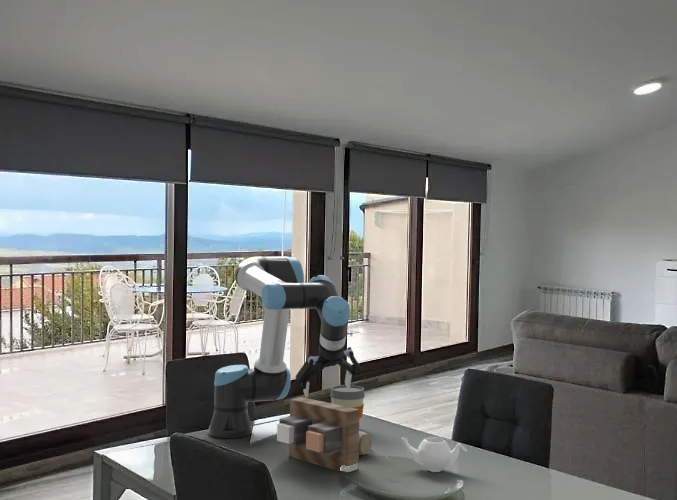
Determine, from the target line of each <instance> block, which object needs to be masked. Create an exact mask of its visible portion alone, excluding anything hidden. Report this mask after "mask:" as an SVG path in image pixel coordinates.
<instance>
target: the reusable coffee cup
mask: <svg viewBox="0 0 677 500" xmlns="http://www.w3.org/2000/svg"><path fill="white" fill-rule="evenodd" d="M329 397H330V398H331V404H336V405H341V406H345V407H350V408H355V409H359V428H360V425H361V419H362V417H363V413H364V405H365V404H364V398H365V388H364V387H363V386H358V385H352V384H350V389H347V387H346V384H343V385H341V384H339V385H334V386H332V387H331V388H330V394H329Z"/></svg>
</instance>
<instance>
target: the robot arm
mask: <svg viewBox="0 0 677 500" xmlns="http://www.w3.org/2000/svg"><path fill="white" fill-rule="evenodd" d="M234 280H235V283H236V284H237V286H238V287H239V288H240V289H242V290H243V291H246V292H250V293H252V292H253V294H255V295H257V296H259V297H261V302H262V305H263V307H264V315H263V316H264V317H263V324H262V331H261V332H262V333H261V342H260V348H259V350H260V351H259V358H258V359H256V360H255V361H254V363H253V368H249V367H248V366H247V365H246V364H233V365H232V364H231V365H227V366H223V367H220V368H219V369H217V370H216V372H215V373H214V381H213V382H214V383H213V385H214V390H213V391H214V392H213V393H214V394H213V396H214V397H213V399H214V400H213V402H214V404H213V406H214V408H213V409H214V410H213V414H212V418H211V420H210V424H209V426H208V435H209V436H211V437H213V438H219V439H239V438H244V437H248V436H250V435H251V434H252V433H253V424H252V422H251V419H250V415H249V413H248V412H249V411H248V405H249V404H248V403H255V402H266V401H272V402H274V401H276V400H282V399H284V398H286V397H287V396H288V394H289V392H290V389H291V382H292V380H291V378H292V376H291V371H290V369H289V368H288V366H287V364H286V363H285V361H284V356H285V349H286V342H287V341H286V340H287V334H288V326H289V318H290V317H289V316H290V310H296V309H297V310H305V309H307V310H308V309H310V310H311V309H315V310H316V311H317V314H318V316H319V319H320V321H321V323H320V334H319V344H318V352H317V355H316V356H312V355H311V354H308V355H307V358H306V361H305V362H304V363H303V365H302V366H301V368H300V369H299V370H298V372H297V373H296V375H295V380H296V381H297V384H300V387H301V389H302V390H303V391H302V392H303V394H304V396H305V397H304V398H309V393H310V392H309V391H310V380H312V379H313V378H314V377H315V376H316V375H317V374H318V373H319V372H321V371H323V370H324V369H325V368H329V367H334V366H337V365H338V366H339V367H341V368H344V369H345V370H346V372H345V378H344V385H346V387H347V389H350V385H352V384H351V383H352V380H354V379H355V376H357V372H361V371H362V368H361V365H360V364H359V362H358V360H357V359H356V357H355V355H354V352H353V349H352V347H350V346H348V347H347V349H346V350H345V347H346V340H347V332H348V325H349V320H350V304H349V302H348V301H347V300H345V299H344V298H343V297H341V296H339V294H338V291H337V288H336V286H335V284H334V283H333V282H332V280H331V279H330V277H328V276H326V275H323V274H318V275H317V276H313V277H312V278H310V280H308V282H305V274H304V270H303V266H302V263H301V262H300V260H299V258H297V257H294V256H286V255H283V256H282V255H281V256H271V255H270V256H259V255H257V256H256V255H255V256H251V257H248V258H246V259H244V260H243V261H241V262H240V263H239V264H238V265H237V267H236V269H235V271H234ZM345 357H348V358H349V359H350V361H351V363H352V364H351V363H350V362H348V361H347V360H345V359H344V358H345Z"/></svg>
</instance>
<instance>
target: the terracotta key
mask: <svg viewBox="0 0 677 500" xmlns="http://www.w3.org/2000/svg"><path fill="white" fill-rule="evenodd" d="M306 449H309V450H312V451H316V452H321V451H324V432H320V431H316V430H310V431H307V432H306Z"/></svg>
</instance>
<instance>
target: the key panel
mask: <svg viewBox="0 0 677 500" xmlns="http://www.w3.org/2000/svg"><path fill="white" fill-rule="evenodd" d="M331 403H332V402H331ZM331 403H330V402H326V401H322V400H316V399H312V398H309V397H307V398H306V397H302V396H299V397H295V398H291V399H289V416H285V417H281V418H279V420H278V421H279V423H278V424H280V423H288V424H292V425H295V427H294V443H290V444H287V443H284V442H280V441H278V443H281V444H284V445H288V446H289V447H288V449H289V453H288V455H289V456H288V457H290V458H293V459H297V460H300V461H304V462H308V463H311V464H315V465H318V466H319V467H324V468H328V469H331V470H335V471H338V472H341V471H340V467H341V466H342V465H345V466H350V465H353V464H356V463H358V464H359V459H360V458H359V456H360V455H359V431H360V427H359V409H355V408H350V407H345V406H341V405H336V404H331ZM310 430H316V431H320V432H324V451H321V452H316V451H312V450H309V449H306V432H307V431H310Z"/></svg>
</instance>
